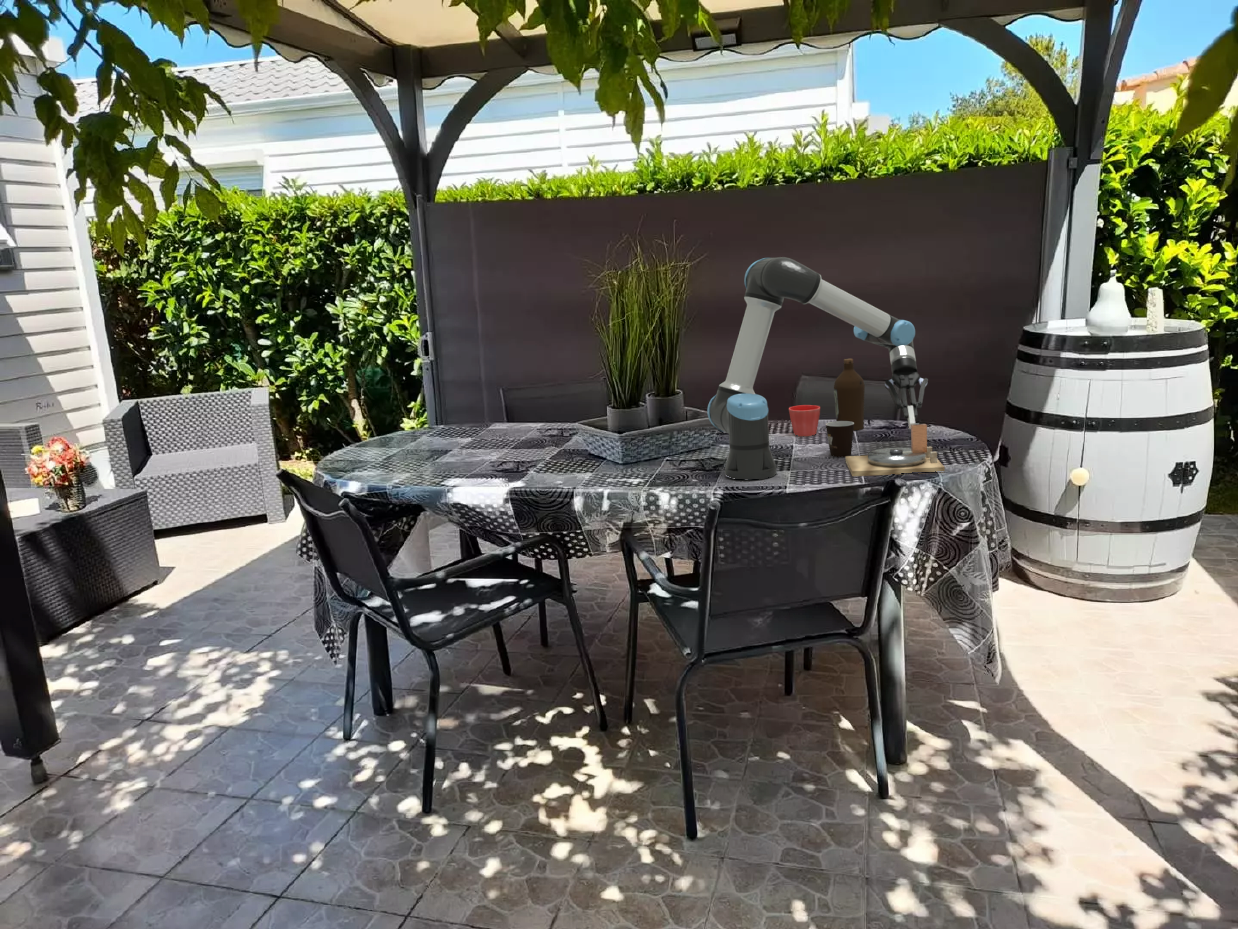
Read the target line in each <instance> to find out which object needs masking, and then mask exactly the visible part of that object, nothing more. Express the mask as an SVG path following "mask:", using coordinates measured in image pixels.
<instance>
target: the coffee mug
mask: <svg viewBox="0 0 1238 929" xmlns="http://www.w3.org/2000/svg"><path fill="white" fill-rule="evenodd" d="M825 429H826V434H827V442H828V448H829V455H830V457H832V458H845V456H852V453H853V451H852V450H853V439H854V432H855V431H854V422H850V421H836V420H835V421H830V422H827V423H825Z"/></svg>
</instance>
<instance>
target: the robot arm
mask: <svg viewBox="0 0 1238 929" xmlns="http://www.w3.org/2000/svg"><path fill="white" fill-rule="evenodd" d="M744 286H745V289H746V290H745V293H744V295H743V296H744V297H743V298H744V301H745V303H746V307H745V311H744V316H743V317H742V323H741V326H740V329H739V334H738V336H737V340H736V343H735V347H734V351H733V355H732V357H731V362H730V364H729V368H728V370H727V374H726V377H725V381H723V382H722V383H720V384H719V385H718V388H717V391H716V394H715V395H714V396H713V397H712V398H710V400H709V403H708V405H707V409H706V410H707V412H706V413H707V417H708V420H709V422H710V423H711V425H712V426H713V427H715V429H717V430H718V431H720V432H722V433H726V434H728V444H729V451H728V456H727V458H726V463H725V467H724V475H725V474H726V475H727V476H729V477H731V478H735V479H759V480H765V479H769V478H772V477H774V476H776V475H777V474H778V472H777V464H776V461H775V458H774V456H773V453H772V451H771V449H770V434H769V432H770V431H769V429H770V428H769V406H768V401H767V399H766V398H765V397H764V396H762V395H760V394H757V393H755V390H754V386H755V385H754V384H755V381H756V378H757V374H758V371H759V368H760V365H761V364H760V363H761V360H762V356H763V353H764V351H765V348H766V347H765V346H766V343H767V341H768V340H767V339H768V336H769V333H770V329H771V326H772V323H773V320H774V316H775V312H777V311H779V310H781V309H782V307H783V303H784V299H788V300H793V301H796V302H798V303H800V304H802V305H807V304H810V305H812V306H814V307H816V308H818V309H820V310H822V311H824V312H826V313H829V314H830V315H832V316H834V317H836V318H838V319H840V320H842V321H844V322H845V323H848V324H849V325H852V326H854V327H853V334H854V336H855V338H857V339H860V340H862V341H865V342H868V343H871V344H874V345H877V346H880V347H883V348H886V349H888V354H889V360H890V367H891V368H890V369H891V374H892V375H891V377H890V378H891V379H886V380H885V382H884V388H885V389H887V391H888V393H889V395H890V398H891V399H892V402H893V403H894V404H893V405H895V408H896V410H902V412H903V418H904V419H907V423H908V429H910V430H911V425H916V419H918V409H921V408H922V406H923V400H924V395H925V389H926V387H927V386H928V381H929V379H928V378H927V377H925V378H922V377H921V375H920V374H919V372H918V367H917V359H916V353H915V347H914V339H915V336H916V329H915V326H914V324H913V323H912V322H911V321H908V320H905V319H898V318H897V317H895V316H892V315H891V314H889V313H887V312H885V311H883V310H881V309H879V308H877V307H875V306H873V305H872V304H870V303H868V302H866V301H865V300H862V299H860V298H859V297H856V296H854V295H853V294H851V293H848V292H847V291H845V290H843V289H841V288H839V287H837V286H835V285H833V284H832V283H830V282H828V281H826V280H824V279H822V275H821V274H820V273H818V272H817V271H815V270H813V269H811V268H809V267H807V266H806V265H804V264H802V263H801V262H798V261H796V260H795V259H792V258H789V257H785V256H782V257H781V256H779V257H764V258H761V259H758V260H756V261H754V262H753V263H752V264H750V265H749V267H748V268H747V270H746V271H745V274H744ZM917 384H918V385H919V386H920V389H919V394H918V400H917V398H916V391H915V387H916V386H917ZM894 385H895V386H894ZM895 387H897V388H898V389H899V392H900V393H899V395H900V397H899V395H898V392H897V391H896V388H895ZM907 391H908V394H909V401H910V405H909V404H908V398H907ZM775 474H776V475H775ZM768 477H769V478H768Z"/></svg>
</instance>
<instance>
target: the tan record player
mask: <svg viewBox="0 0 1238 929" xmlns="http://www.w3.org/2000/svg"><path fill="white" fill-rule="evenodd" d="M925 453H926V460H925V462H924V463H921V464H918V465H913V466H905V467H885V466H877V465H873V464H870V463H869V462H868V454H867V455H851V456H845V457H844V458H845V464H846V466H847V467H848V470H849V472H850V475H851V476H852V477H866V476H867V477H870V476H891V474H895V475H902V474H901V473H912V472H935V471H936V472H937V471H945V470H946V468H945V466H944V465H943V463H941V461H940V460H939V459H938V451H933V446H927V452H925Z"/></svg>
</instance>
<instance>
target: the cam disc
mask: <svg viewBox="0 0 1238 929" xmlns="http://www.w3.org/2000/svg"><path fill="white" fill-rule="evenodd" d="M910 433H911V434H910V435H911V437H910V440H911V442H910V443H911V444H910V445H911V446H910V447H884V448H879V449H875V450H874V449H873V450H871V451H869V452H868V453H867V455H868V462H869V463H870V464H873V465H877V466H885V467H905V466H913V465H918V464H921V463H924V462H925V460H926V452H927V447H928V424H926V423H921V424H915V425H911V429H910Z"/></svg>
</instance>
